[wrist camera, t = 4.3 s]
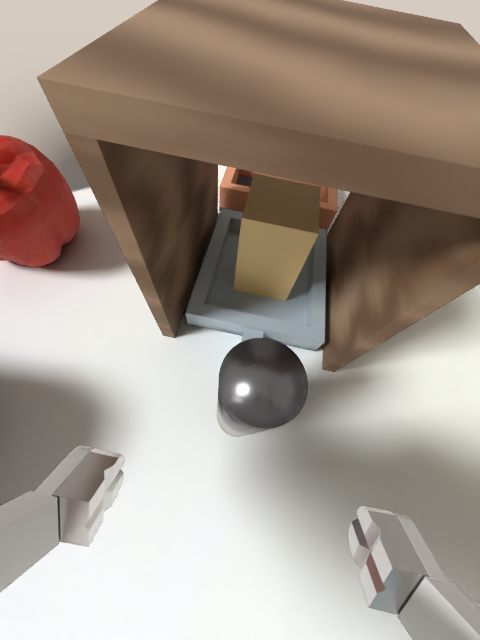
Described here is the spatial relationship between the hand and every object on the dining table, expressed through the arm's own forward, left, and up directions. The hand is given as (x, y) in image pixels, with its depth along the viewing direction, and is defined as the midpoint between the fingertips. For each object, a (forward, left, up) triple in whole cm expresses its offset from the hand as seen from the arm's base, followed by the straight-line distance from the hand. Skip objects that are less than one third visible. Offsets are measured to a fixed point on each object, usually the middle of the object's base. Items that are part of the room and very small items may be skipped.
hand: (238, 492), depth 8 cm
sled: (-2, -12, -9) cm, 15 cm away
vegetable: (+19, -18, -10) cm, 28 cm away
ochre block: (-3, -16, -8) cm, 19 cm away
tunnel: (-3, -16, -9) cm, 19 cm away
